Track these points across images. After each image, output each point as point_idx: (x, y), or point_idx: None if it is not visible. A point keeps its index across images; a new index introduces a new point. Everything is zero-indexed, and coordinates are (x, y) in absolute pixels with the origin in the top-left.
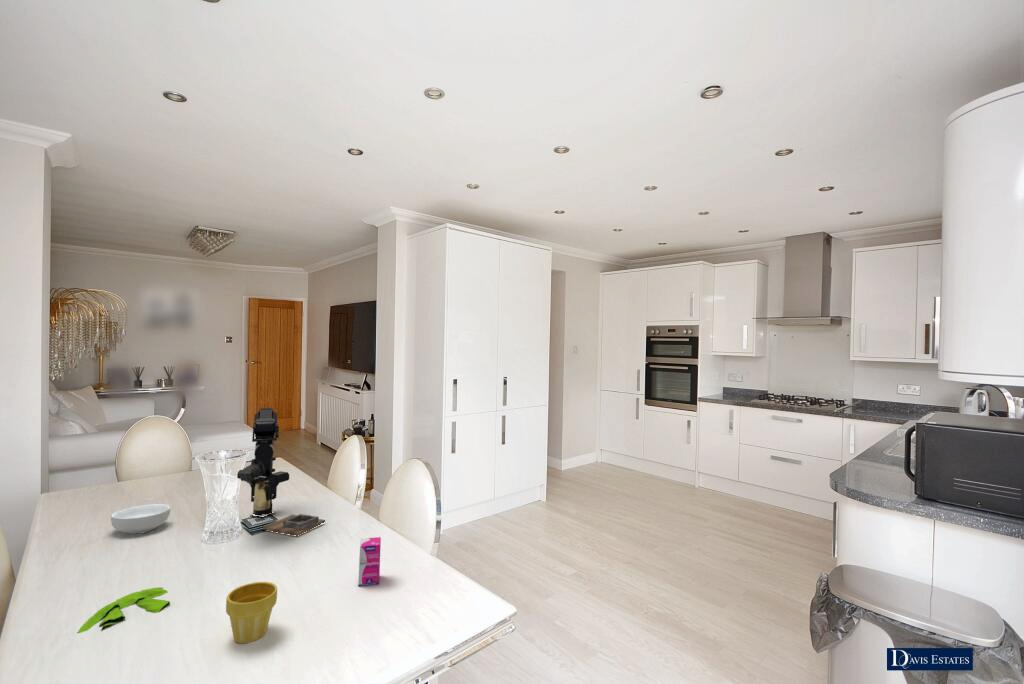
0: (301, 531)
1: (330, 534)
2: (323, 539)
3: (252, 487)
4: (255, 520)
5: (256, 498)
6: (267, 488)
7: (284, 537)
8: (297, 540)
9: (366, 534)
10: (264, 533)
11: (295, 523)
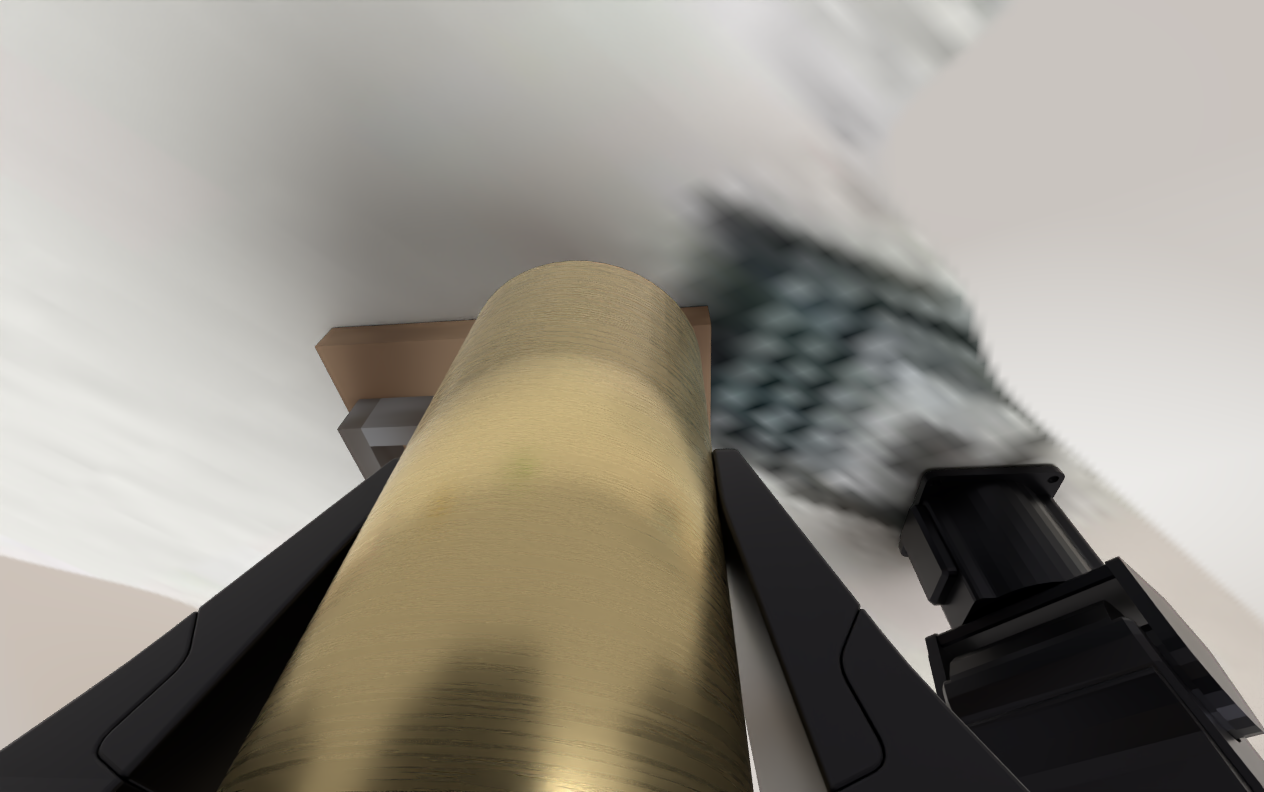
0: (335, 381)
1: (217, 443)
2: (145, 371)
3: (859, 691)
4: (947, 429)
5: (530, 391)
6: (95, 735)
7: (409, 283)
8: (258, 282)
9: (69, 510)
10: (642, 275)
11: (407, 425)
